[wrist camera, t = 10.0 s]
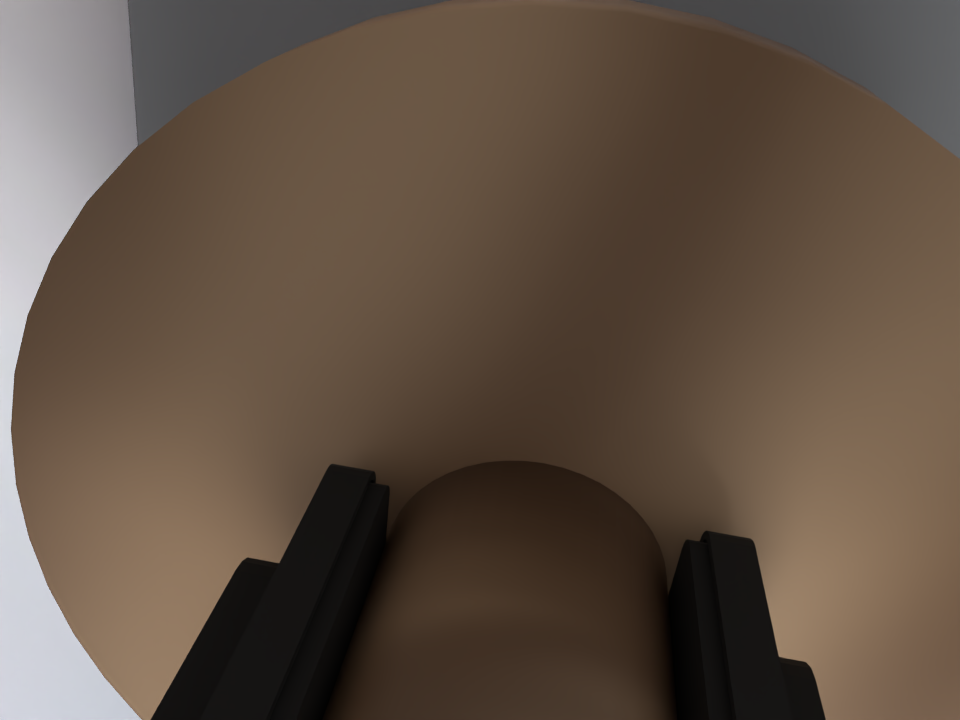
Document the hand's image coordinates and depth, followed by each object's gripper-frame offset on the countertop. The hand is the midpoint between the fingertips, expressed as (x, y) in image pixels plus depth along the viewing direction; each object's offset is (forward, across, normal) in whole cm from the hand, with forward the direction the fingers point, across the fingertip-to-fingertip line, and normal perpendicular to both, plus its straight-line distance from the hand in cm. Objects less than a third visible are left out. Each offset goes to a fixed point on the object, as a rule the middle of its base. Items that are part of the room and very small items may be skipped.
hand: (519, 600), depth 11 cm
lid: (+2, 0, 0) cm, 2 cm away
